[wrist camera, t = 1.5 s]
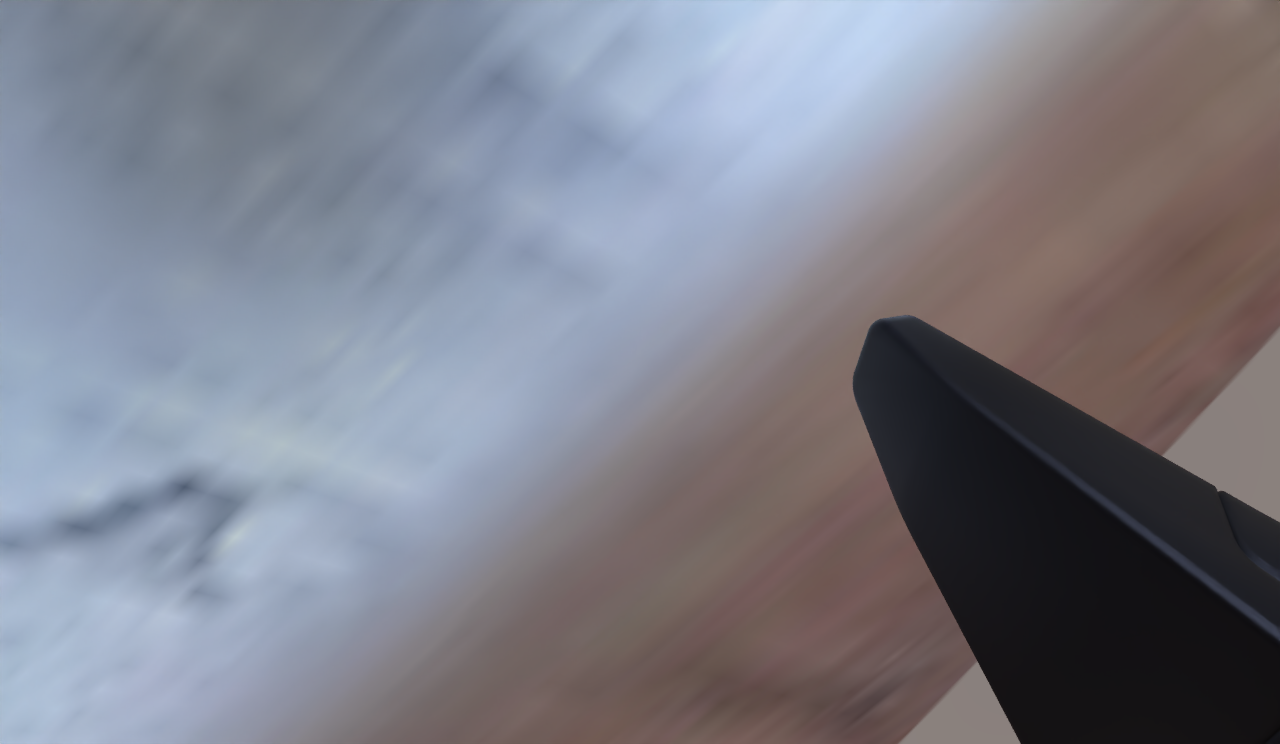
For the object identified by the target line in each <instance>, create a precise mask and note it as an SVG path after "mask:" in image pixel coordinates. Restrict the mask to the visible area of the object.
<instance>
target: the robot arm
mask: <svg viewBox="0 0 1280 744" xmlns="http://www.w3.org/2000/svg"><path fill="white" fill-rule="evenodd" d="M853 392H854V396H855V400H856V402H857V405H858V407H859V410H860V412H861V415H862V418H863V420H864V423H865V425H866V428H867V430H868V433H869V435H870V438H871V440H872V443H873V446H874V448H875V451H876V453H877V456H878V458H879V461H880V463H881V466H882V468H883V471H884V474H885V476H886V479H887V481H888V484H889V486H890V489H891V491H892V494H893V496H894V499H895V501H896V503H897V506H898V508H899V510H900V513H901V515H902V517H903V519H904V521H905V523H906V525H907V527H908V529H909V532H910V534H911V536H912V538H913V539H914V541H915V543H916V545H917V547H918V549H919V551H920V553H921V555H922V557H923V558H924V560H925V562H926V564H927V566H928V568H929V570H930V572H931V574H932V576H933V577H934V579H935V581H936V583H937V585H938V587H939V589H940V591H941V593H942V595H943V596H944V598H945V600H946V602H947V604H948V606H949V608H950V610H951V612H952V614H953V616H954V617H955V619H956V621H957V623H958V625H959V627H960V629H961V631H962V633H963V635H964V636H965V638H966V640H967V642H968V644H969V646H970V648H971V650H972V652H973V654H974V655H975V657H976V659H977V661H978V663H979V665H980V667H981V669H982V671H983V673H984V674H985V676H986V678H987V680H988V682H989V684H990V686H991V688H992V689H993V692H994V693H995V695H996V697H997V699H998V701H999V703H1000V705H1001V707H1002V709H1003V711H1004V712H1005V714H1006V716H1007V718H1008V720H1009V722H1010V724H1011V726H1012V728H1013V729H1014V731H1015V733H1016V735H1017V737H1018V739H1019V741H1020V743H1021V744H1280V522H1278V521H1276V520H1274V519H1272V518H1271V517H1269V516H1267V515H1265V514H1263V513H1261V512H1259V511H1258V510H1256V509H1254V508H1252V507H1251V506H1249V505H1247V504H1245V503H1244V502H1242V501H1240V500H1238V499H1237V498H1235V497H1233V496H1231V495H1230V494H1228V493H1226V492H1224V491H1219V492H1218V491H1217V489H1216V487H1215V486H1213V485H1212V484H1210V483H1208V482H1206V481H1204V480H1203V479H1201V478H1199V477H1198V476H1196V475H1194V474H1192V473H1190V472H1188V471H1187V470H1185V469H1183V468H1182V467H1180V466H1178V465H1176V464H1174V463H1173V462H1171V461H1169V460H1167V459H1166V458H1164V457H1162V456H1160V455H1159V454H1157V453H1155V452H1153V451H1152V450H1150V449H1148V448H1146V447H1145V446H1143V445H1141V444H1139V443H1137V442H1136V441H1134V440H1132V439H1130V438H1129V437H1127V436H1125V435H1123V434H1122V433H1120V432H1118V431H1116V430H1115V429H1113V428H1111V427H1109V426H1107V425H1106V424H1104V423H1102V422H1100V421H1099V420H1097V419H1095V418H1093V417H1092V416H1090V415H1088V414H1086V413H1084V412H1083V411H1081V410H1079V409H1077V408H1076V407H1074V406H1072V405H1070V404H1069V403H1067V402H1065V401H1063V400H1062V399H1060V398H1058V397H1056V396H1054V395H1053V394H1051V393H1049V392H1047V391H1046V390H1044V389H1042V388H1040V387H1039V386H1037V385H1035V384H1033V383H1031V382H1030V381H1028V380H1026V379H1024V378H1023V377H1021V376H1019V375H1017V374H1016V373H1014V372H1012V371H1010V370H1009V369H1007V368H1005V367H1003V366H1001V365H1000V364H998V363H996V362H994V361H993V360H991V359H989V358H987V357H986V356H984V355H982V354H980V353H978V352H977V351H975V350H973V349H971V348H970V347H968V346H966V345H964V344H963V343H961V342H959V341H957V340H956V339H954V338H952V337H950V336H948V335H947V334H945V333H943V332H941V331H940V330H938V329H936V328H934V327H933V326H931V325H929V324H927V323H925V322H924V321H922V320H920V319H918V318H916V317H914V316H910V315H903V316H897V317H890V318H883V319H879V320H877V321H875V322H874V323H873V324H872V325H871V326H870V328H869V331H868V333H867V336H866V339H865V342H864V345H863V348H862V351H861V354H860V357H859V360H858V363H857V366H856V369H855V372H854V375H853Z"/></svg>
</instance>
